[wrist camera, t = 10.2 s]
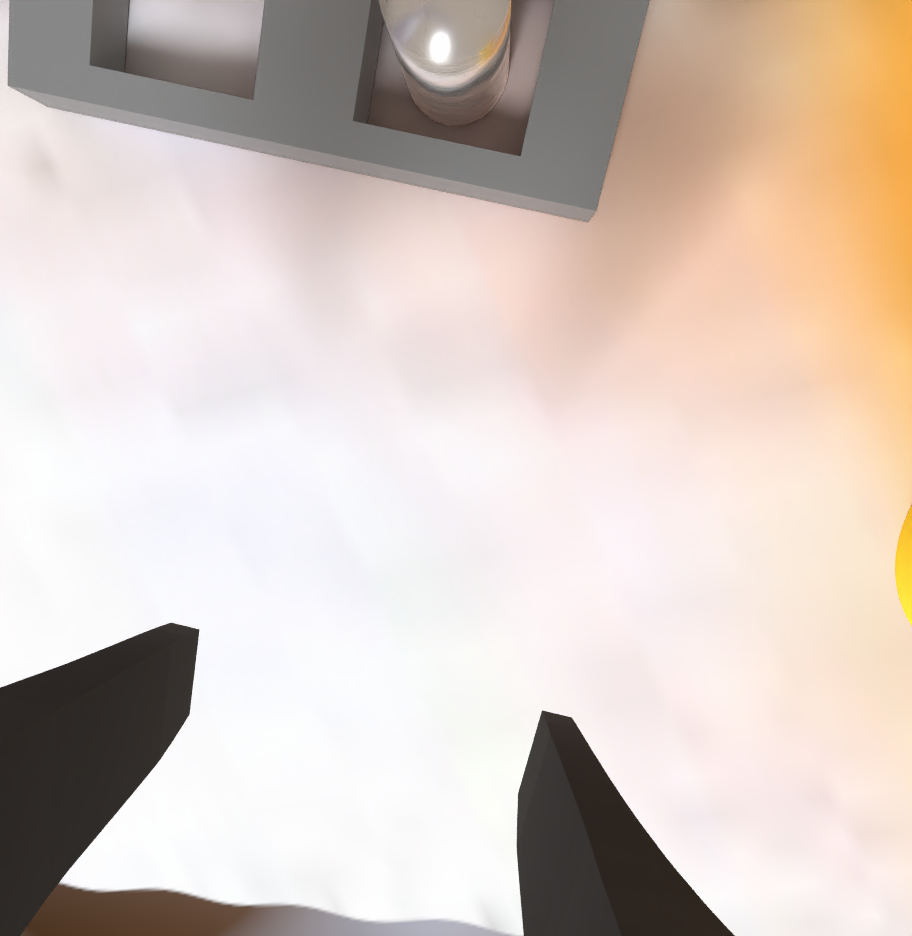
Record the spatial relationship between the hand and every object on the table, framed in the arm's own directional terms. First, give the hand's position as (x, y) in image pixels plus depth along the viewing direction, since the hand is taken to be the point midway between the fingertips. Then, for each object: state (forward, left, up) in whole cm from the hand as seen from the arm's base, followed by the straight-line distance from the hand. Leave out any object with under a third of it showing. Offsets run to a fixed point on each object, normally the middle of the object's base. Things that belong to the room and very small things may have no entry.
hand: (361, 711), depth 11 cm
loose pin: (-2, +16, -9) cm, 18 cm away
